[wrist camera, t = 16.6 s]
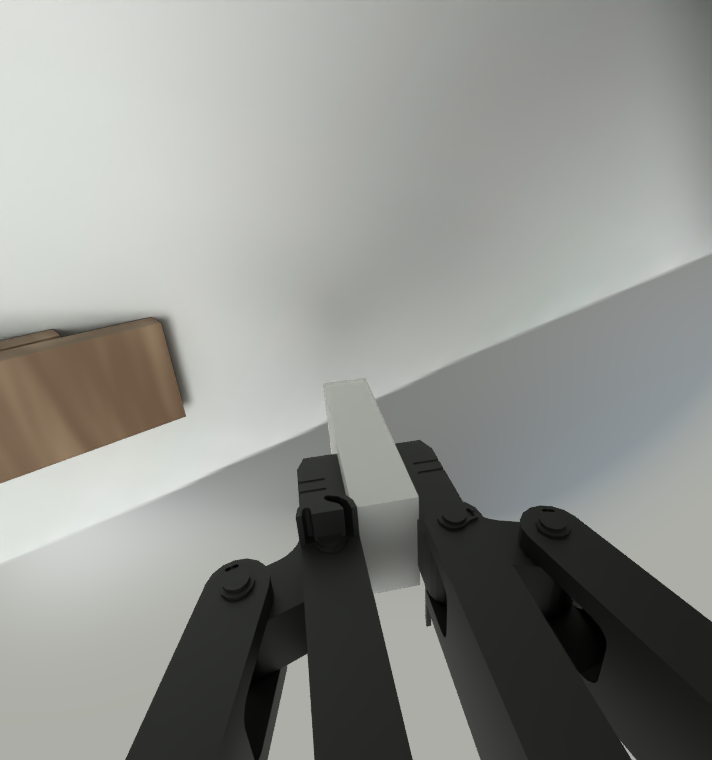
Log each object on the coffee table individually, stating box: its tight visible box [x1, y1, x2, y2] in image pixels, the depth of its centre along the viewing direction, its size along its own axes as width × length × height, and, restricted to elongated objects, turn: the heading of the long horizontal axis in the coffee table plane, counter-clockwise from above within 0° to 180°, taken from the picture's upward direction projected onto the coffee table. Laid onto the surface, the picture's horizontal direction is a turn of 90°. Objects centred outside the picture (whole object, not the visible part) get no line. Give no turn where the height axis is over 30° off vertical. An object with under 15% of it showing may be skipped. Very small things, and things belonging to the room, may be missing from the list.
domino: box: [0, 317, 186, 483], centre depth 20 cm, size 2×5×10 cm
